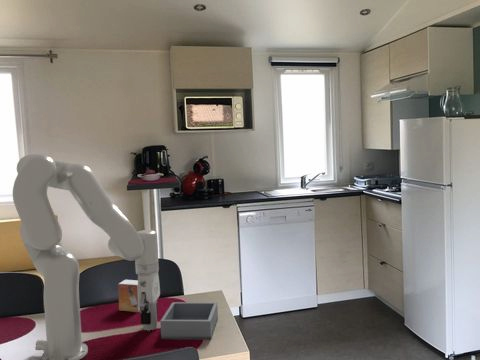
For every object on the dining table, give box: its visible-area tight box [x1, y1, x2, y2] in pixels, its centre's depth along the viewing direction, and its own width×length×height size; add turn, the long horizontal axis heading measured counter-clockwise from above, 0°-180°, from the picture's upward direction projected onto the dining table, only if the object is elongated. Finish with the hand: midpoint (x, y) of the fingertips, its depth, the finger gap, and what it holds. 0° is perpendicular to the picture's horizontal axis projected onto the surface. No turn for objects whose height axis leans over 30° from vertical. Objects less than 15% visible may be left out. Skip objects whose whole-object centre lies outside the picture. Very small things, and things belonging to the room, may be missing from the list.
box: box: [159, 301, 219, 341], centre depth 142 cm, size 16×16×6 cm
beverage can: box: [142, 301, 158, 332], centre depth 143 cm, size 5×5×12 cm
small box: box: [118, 279, 140, 313], centre depth 161 cm, size 8×6×10 cm
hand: (149, 318), depth 143 cm, fingers open, 7 cm apart
